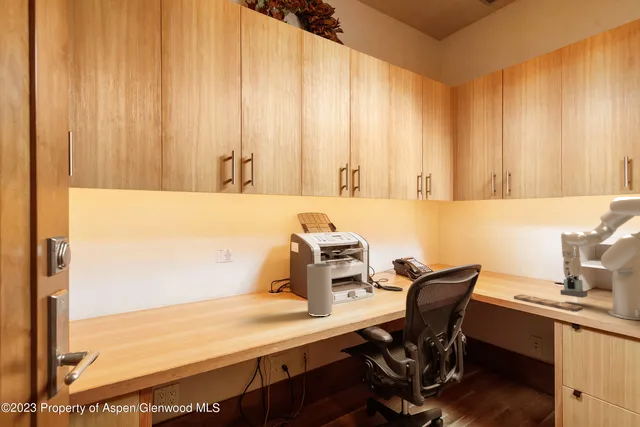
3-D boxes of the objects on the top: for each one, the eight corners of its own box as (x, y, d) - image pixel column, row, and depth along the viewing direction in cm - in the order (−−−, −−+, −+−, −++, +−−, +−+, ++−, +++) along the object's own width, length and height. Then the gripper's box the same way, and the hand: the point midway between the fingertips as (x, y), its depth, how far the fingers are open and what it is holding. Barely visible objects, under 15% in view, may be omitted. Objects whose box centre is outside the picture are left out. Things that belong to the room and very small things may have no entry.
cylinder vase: (316, 308, 173) (315, 262, 173) (336, 312, 166) (335, 264, 166) (302, 315, 162) (302, 266, 162) (323, 319, 155) (322, 267, 156)
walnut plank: (582, 309, 164) (582, 306, 164) (574, 311, 161) (574, 308, 161) (521, 296, 191) (521, 294, 191) (513, 298, 187) (513, 296, 187)
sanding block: (587, 296, 171) (586, 280, 172) (582, 297, 168) (581, 281, 169) (565, 293, 180) (564, 278, 180) (560, 294, 177) (559, 279, 177)
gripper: (571, 256, 168) (574, 291, 167) (586, 254, 176) (588, 287, 175) (555, 255, 174) (557, 289, 173) (570, 253, 183) (572, 285, 182)
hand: (573, 288), depth 174 cm, fingers closed on sanding block, 4 cm apart
